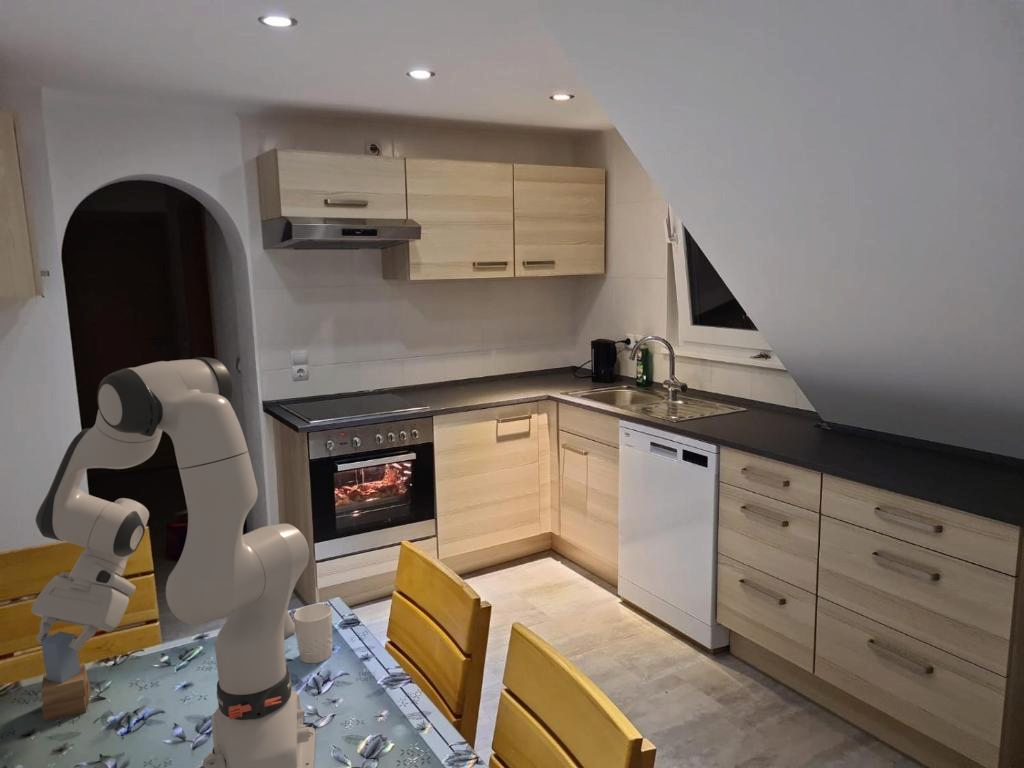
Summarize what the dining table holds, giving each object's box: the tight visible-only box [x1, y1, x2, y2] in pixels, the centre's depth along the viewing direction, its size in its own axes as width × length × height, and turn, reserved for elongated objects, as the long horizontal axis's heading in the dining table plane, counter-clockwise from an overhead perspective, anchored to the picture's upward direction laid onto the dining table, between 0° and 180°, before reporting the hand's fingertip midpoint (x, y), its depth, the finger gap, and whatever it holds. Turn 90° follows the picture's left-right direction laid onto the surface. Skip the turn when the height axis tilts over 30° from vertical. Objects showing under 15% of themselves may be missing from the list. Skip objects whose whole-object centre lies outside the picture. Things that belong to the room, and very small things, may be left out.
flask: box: [284, 610, 296, 640], centre depth 172 cm, size 7×7×10 cm
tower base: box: [41, 678, 92, 723], centre depth 147 cm, size 7×7×4 cm
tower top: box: [40, 662, 88, 707], centre depth 146 cm, size 7×7×4 cm
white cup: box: [293, 603, 333, 664], centre depth 162 cm, size 8×8×10 cm
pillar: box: [40, 631, 81, 683], centre depth 145 cm, size 4×4×8 cm
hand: (57, 646), depth 144 cm, fingers open, 8 cm apart
